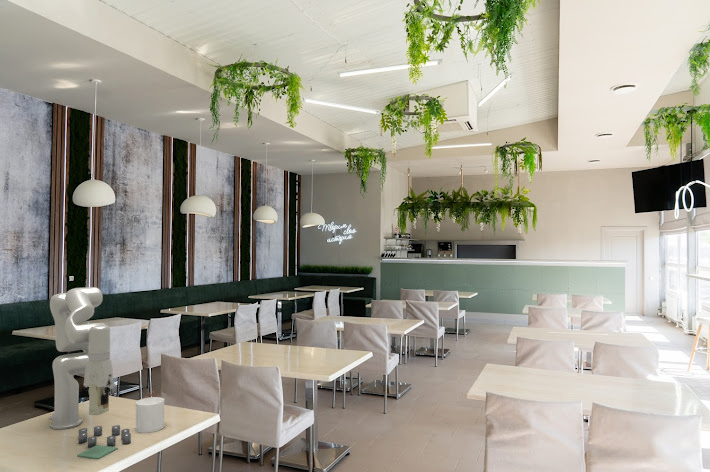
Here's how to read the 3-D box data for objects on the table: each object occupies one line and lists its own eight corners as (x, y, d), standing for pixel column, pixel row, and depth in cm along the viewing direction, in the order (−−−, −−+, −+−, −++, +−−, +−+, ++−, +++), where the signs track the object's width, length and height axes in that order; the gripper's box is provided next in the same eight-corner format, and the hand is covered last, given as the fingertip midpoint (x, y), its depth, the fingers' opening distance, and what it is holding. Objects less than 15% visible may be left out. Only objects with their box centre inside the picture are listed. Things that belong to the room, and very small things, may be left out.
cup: (143, 423, 224) (143, 397, 224) (168, 423, 224) (168, 397, 224) (130, 433, 212) (130, 405, 213) (157, 433, 212) (157, 405, 212)
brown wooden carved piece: (161, 414, 237) (161, 389, 237) (162, 416, 234) (163, 391, 234) (141, 417, 232) (141, 391, 233) (142, 419, 229) (143, 393, 229)
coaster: (76, 456, 188) (76, 455, 188) (97, 446, 198) (97, 445, 198) (98, 459, 185) (98, 457, 185) (117, 449, 195) (117, 447, 195)
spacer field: (63, 444, 200) (63, 436, 200) (94, 430, 215) (94, 422, 215) (115, 451, 193) (115, 442, 193) (143, 436, 208) (143, 427, 208)
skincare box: (98, 416, 189) (98, 384, 190) (88, 415, 190) (88, 383, 191) (109, 410, 196) (109, 379, 196) (99, 410, 197) (100, 379, 197)
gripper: (74, 358, 192) (73, 405, 192) (110, 359, 188) (110, 408, 187) (89, 354, 200) (88, 399, 199) (124, 355, 195) (124, 402, 195)
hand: (99, 403), depth 193 cm, fingers closed on skincare box, 4 cm apart
